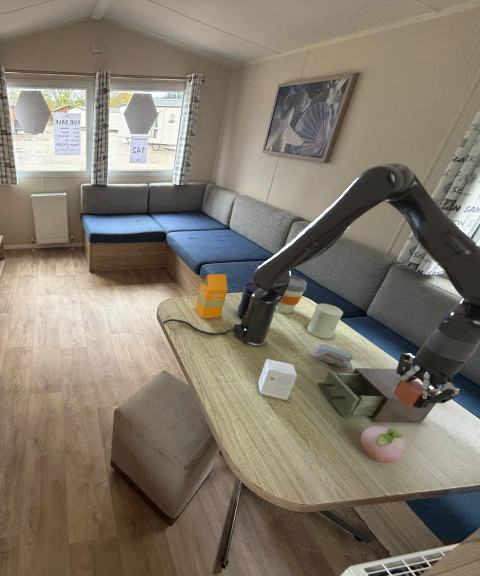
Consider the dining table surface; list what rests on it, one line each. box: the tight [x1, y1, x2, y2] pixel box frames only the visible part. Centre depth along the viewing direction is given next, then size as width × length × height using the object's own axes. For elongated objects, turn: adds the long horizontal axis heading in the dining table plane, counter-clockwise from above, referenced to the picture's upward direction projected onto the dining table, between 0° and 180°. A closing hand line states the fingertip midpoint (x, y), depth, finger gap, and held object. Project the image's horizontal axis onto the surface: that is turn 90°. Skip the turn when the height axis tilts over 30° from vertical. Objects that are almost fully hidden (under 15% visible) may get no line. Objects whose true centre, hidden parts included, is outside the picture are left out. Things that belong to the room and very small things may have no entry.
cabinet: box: [352, 367, 437, 424], centre depth 95 cm, size 15×13×10 cm
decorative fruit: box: [360, 425, 407, 464], centre depth 80 cm, size 9×8×10 cm
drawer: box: [316, 370, 385, 419], centre depth 95 cm, size 18×11×8 cm, turn 90°
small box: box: [257, 358, 298, 401], centre depth 99 cm, size 8×6×10 cm
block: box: [393, 381, 423, 407], centre depth 81 cm, size 4×4×4 cm
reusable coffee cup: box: [275, 275, 308, 314], centre depth 145 cm, size 13×13×15 cm
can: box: [306, 303, 344, 339], centre depth 129 cm, size 9×9×12 cm
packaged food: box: [312, 343, 354, 371], centre depth 114 cm, size 9×12×5 cm
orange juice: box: [195, 273, 228, 319], centre depth 138 cm, size 8×9×20 cm
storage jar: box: [236, 282, 259, 320], centre depth 137 cm, size 10×10×15 cm
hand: (408, 399), depth 82 cm, fingers closed on block, 4 cm apart
